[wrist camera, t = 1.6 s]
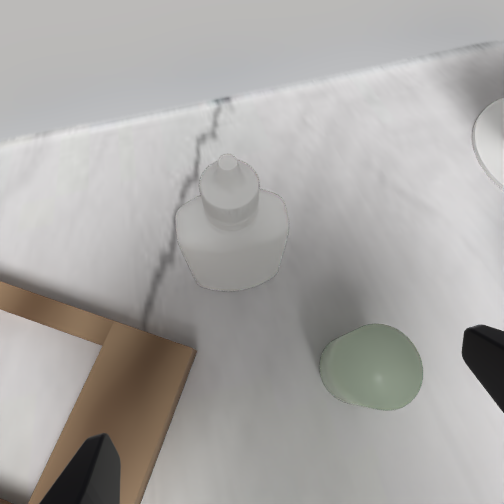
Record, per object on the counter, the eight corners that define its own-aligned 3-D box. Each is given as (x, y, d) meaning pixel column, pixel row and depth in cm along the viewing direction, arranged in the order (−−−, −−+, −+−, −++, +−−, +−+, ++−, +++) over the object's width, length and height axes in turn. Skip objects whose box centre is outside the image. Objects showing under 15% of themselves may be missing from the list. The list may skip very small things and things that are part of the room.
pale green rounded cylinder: (388, 347, 22) (428, 338, 17) (377, 413, 20) (416, 423, 16) (327, 327, 22) (350, 313, 17) (312, 391, 21) (331, 393, 16)
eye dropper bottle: (210, 227, 24) (181, 96, 13) (284, 252, 24) (319, 138, 13) (185, 282, 23) (128, 187, 12) (264, 311, 22) (282, 239, 11)
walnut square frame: (197, 351, 21) (193, 348, 20) (91, 635, 17) (73, 663, 15) (-25, 273, 23) (-47, 265, 21) (-182, 512, 18) (-226, 526, 16)
